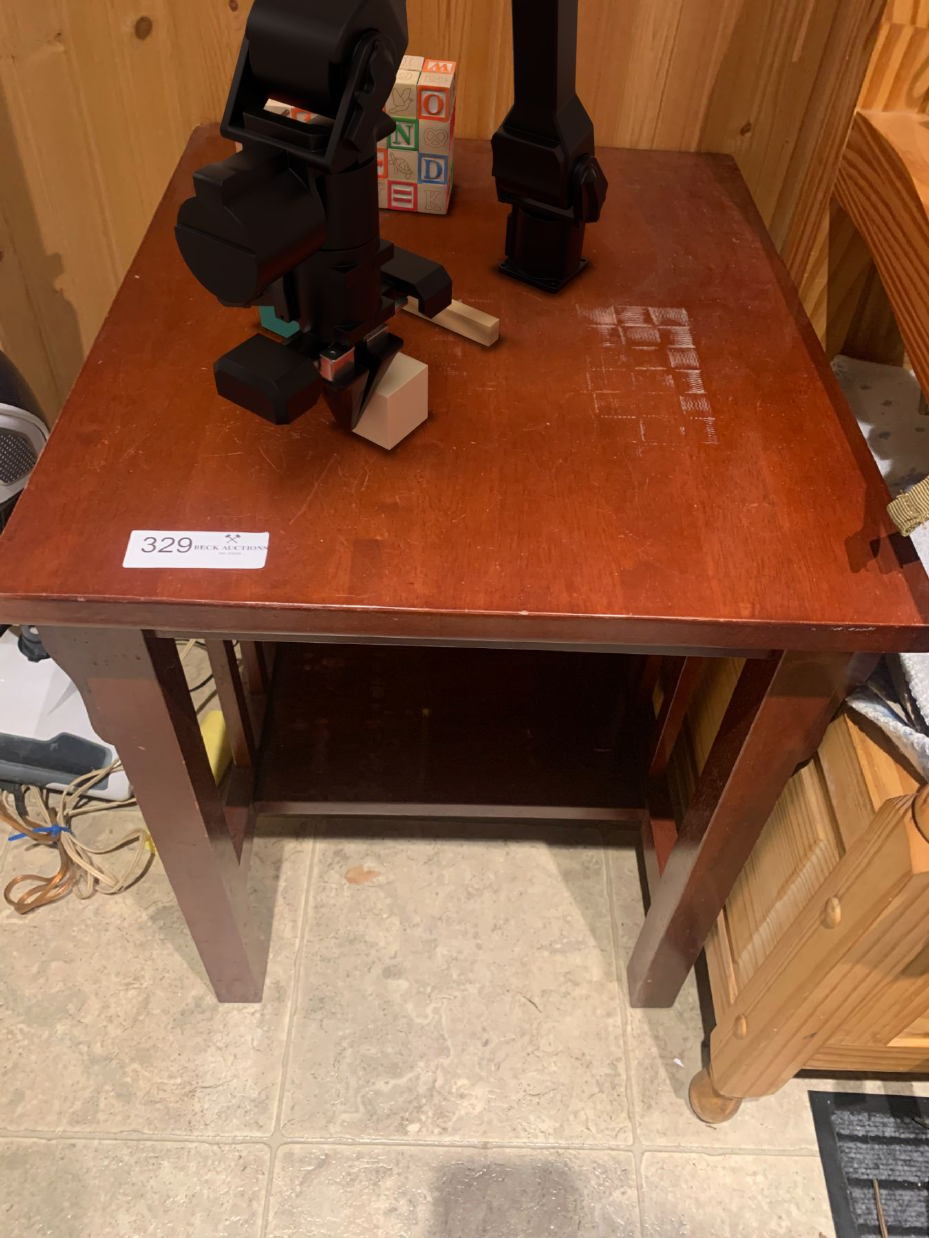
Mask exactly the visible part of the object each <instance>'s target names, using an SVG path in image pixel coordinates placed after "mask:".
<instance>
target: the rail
mask: <svg viewBox="0 0 929 1238" xmlns="http://www.w3.org/2000/svg"><path fill="white" fill-rule="evenodd" d="M407 298H408V304H407V305H406V306H405V307H403V308H402V309H401V310H404V311H405V312H406V311H407V312H408V313H411V314H413V315H415V316H418V317H420V318H422V319H424V320H427V321H429V322H431V323H434V324H436V325H438V326H441V327H443V328H445V329H447V330H450V331H452V332H454V333H456V334H458V335H461V336H463V337H466V338H467V339H470V340H472V341H474V342H477V343H479V344H481V345H483V346H486V347H488V348H489V347H490V346H492V345H493V344H494V343H495V342H496V341H498V340H499V332H500V318H497V317H495V316H493V315H491V314H488V313H486V312H485V311H481V310H479V309H477V308H475V307H472V306H470V305H467V304H465V303H462V302H460V301H457V300H456V299H453V298H452V304H451V305H450V306H448V307H447V308H446V309H444V310H443V311H442V312H440V313H439V314H438V315H436V316H435V317H433V318H432V319H429V318H427V317H425V316H423V315H422V314H421V313H419V312H418V299H416V298H413V297H411V296H408V297H407Z"/></svg>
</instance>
